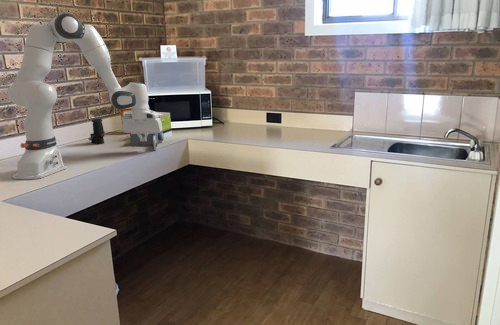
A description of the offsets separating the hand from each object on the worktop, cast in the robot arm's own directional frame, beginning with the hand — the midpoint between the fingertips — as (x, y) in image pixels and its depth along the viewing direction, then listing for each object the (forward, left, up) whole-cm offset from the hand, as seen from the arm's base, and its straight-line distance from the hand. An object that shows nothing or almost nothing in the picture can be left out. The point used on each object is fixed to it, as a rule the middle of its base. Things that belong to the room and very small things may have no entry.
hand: (143, 141), depth 209 cm
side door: (+5, -4, -5) cm, 8 cm away
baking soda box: (+46, +27, -5) cm, 54 cm away
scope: (+18, +34, -5) cm, 39 cm away
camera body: (+17, +5, -5) cm, 19 cm away
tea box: (+30, +4, -5) cm, 31 cm away
